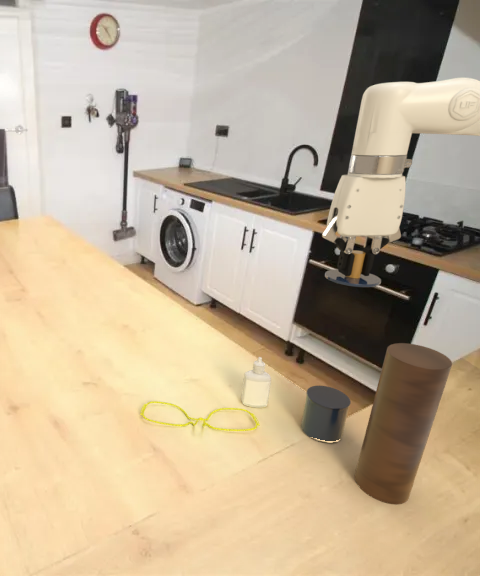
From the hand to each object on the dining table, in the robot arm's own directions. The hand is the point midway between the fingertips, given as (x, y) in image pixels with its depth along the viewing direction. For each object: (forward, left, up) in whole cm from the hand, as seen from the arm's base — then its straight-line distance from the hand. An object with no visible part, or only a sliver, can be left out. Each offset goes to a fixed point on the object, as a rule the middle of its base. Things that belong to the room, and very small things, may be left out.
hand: (353, 272), depth 73 cm
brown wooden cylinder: (-4, +14, -35) cm, 38 cm away
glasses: (+25, -2, -35) cm, 43 cm away
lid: (0, 0, -1) cm, 1 cm away
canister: (0, 0, -35) cm, 35 cm away
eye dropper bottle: (+11, -9, -35) cm, 38 cm away
